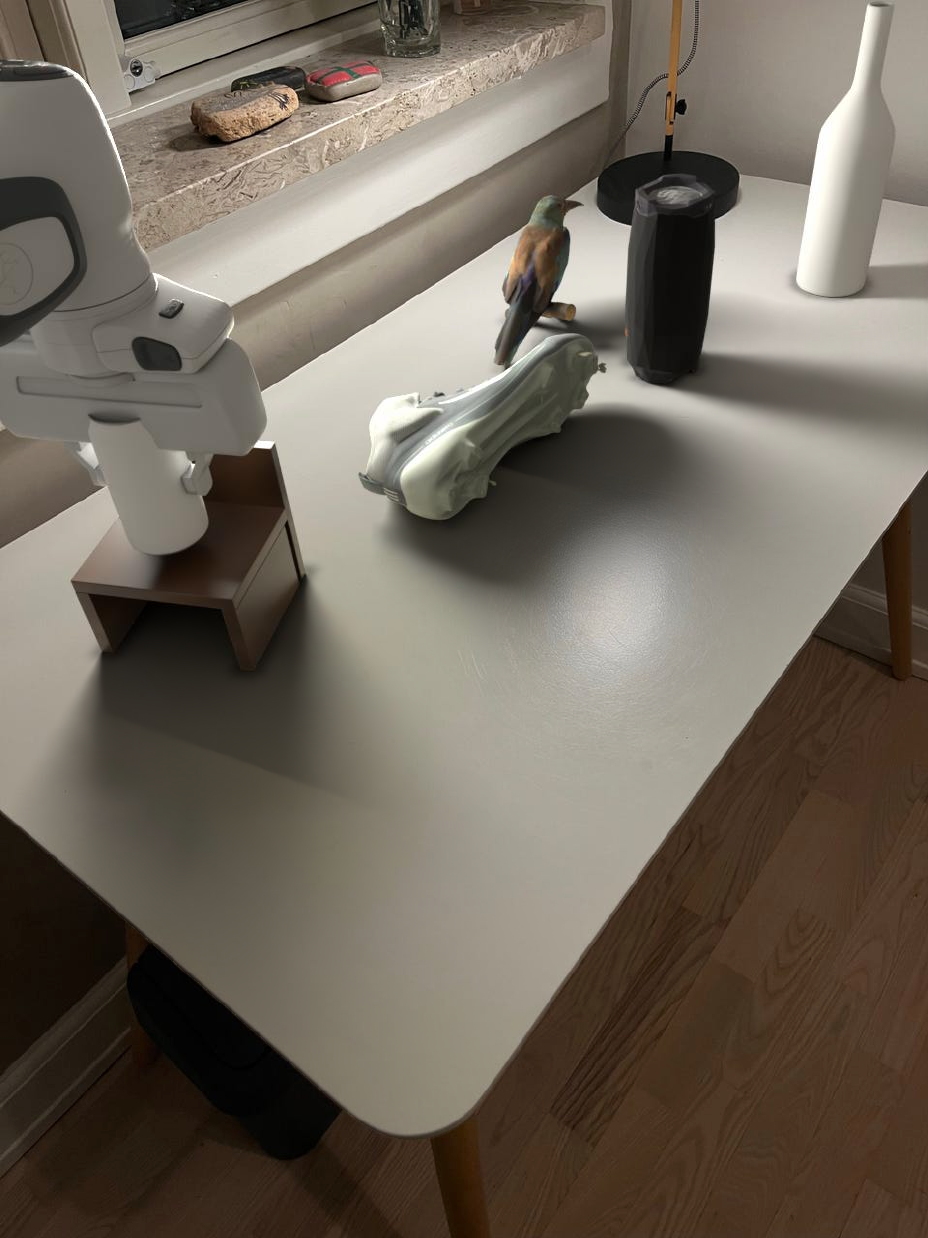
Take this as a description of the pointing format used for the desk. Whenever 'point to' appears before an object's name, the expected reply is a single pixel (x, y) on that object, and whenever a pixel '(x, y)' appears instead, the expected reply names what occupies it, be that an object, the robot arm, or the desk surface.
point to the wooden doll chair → (207, 561)
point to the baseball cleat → (474, 428)
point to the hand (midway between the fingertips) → (154, 486)
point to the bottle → (850, 173)
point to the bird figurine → (535, 276)
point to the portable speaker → (669, 276)
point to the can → (147, 488)
